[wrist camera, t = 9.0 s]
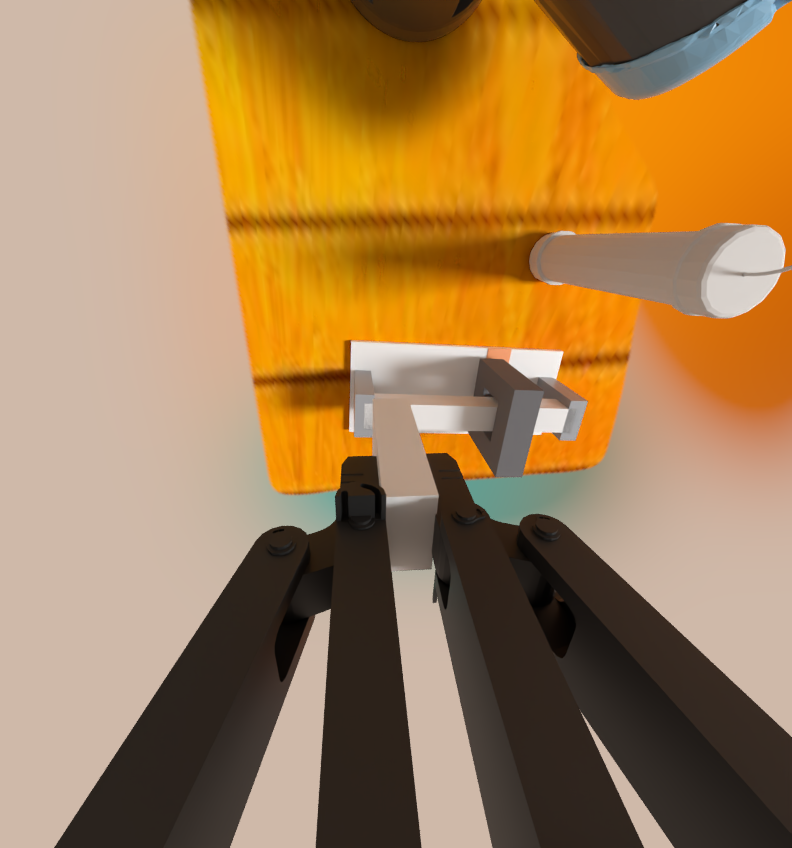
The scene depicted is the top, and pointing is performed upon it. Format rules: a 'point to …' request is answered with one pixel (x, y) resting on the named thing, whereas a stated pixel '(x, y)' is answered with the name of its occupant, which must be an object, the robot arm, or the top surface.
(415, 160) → the top surface
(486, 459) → the collar
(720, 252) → the pipe
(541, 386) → the rail
